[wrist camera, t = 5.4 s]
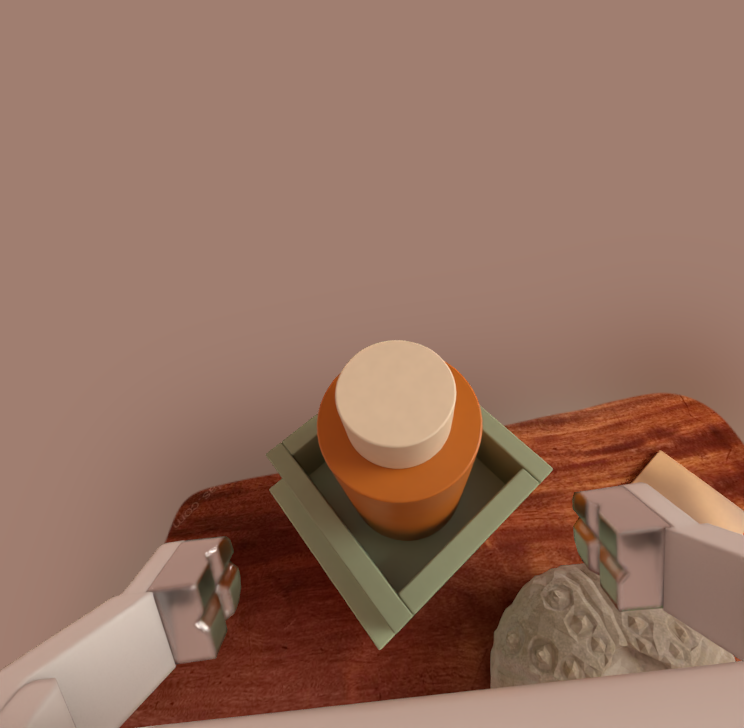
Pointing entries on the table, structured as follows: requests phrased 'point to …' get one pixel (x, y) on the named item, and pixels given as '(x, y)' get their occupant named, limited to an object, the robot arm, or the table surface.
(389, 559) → the cabinet
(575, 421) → the table surface
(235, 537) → the table surface
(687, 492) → the coaster
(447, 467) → the amber bottle
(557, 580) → the decorative shell
